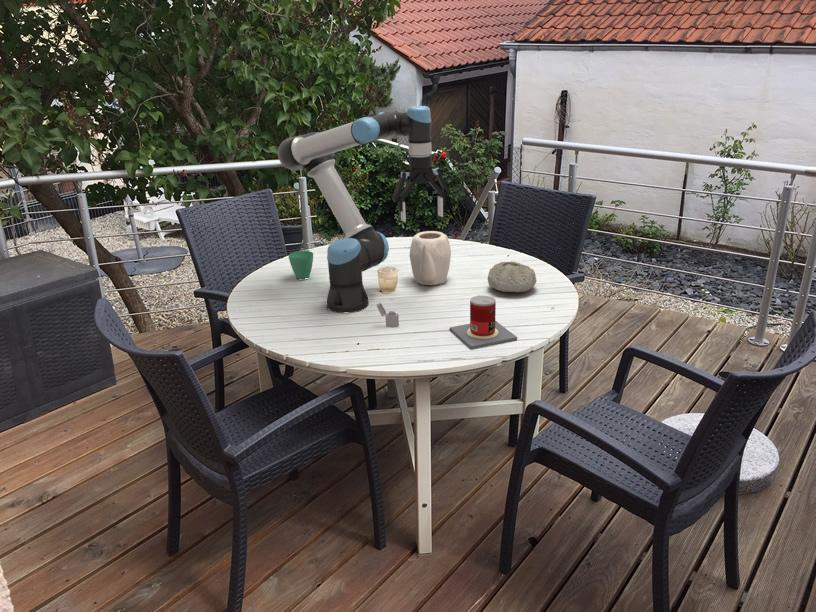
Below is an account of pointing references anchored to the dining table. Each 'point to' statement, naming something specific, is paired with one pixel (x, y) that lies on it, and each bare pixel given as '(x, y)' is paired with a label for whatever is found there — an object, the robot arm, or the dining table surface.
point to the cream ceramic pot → (430, 257)
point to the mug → (301, 263)
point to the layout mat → (481, 341)
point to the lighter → (389, 316)
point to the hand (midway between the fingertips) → (422, 218)
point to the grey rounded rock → (511, 277)
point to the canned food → (482, 315)
